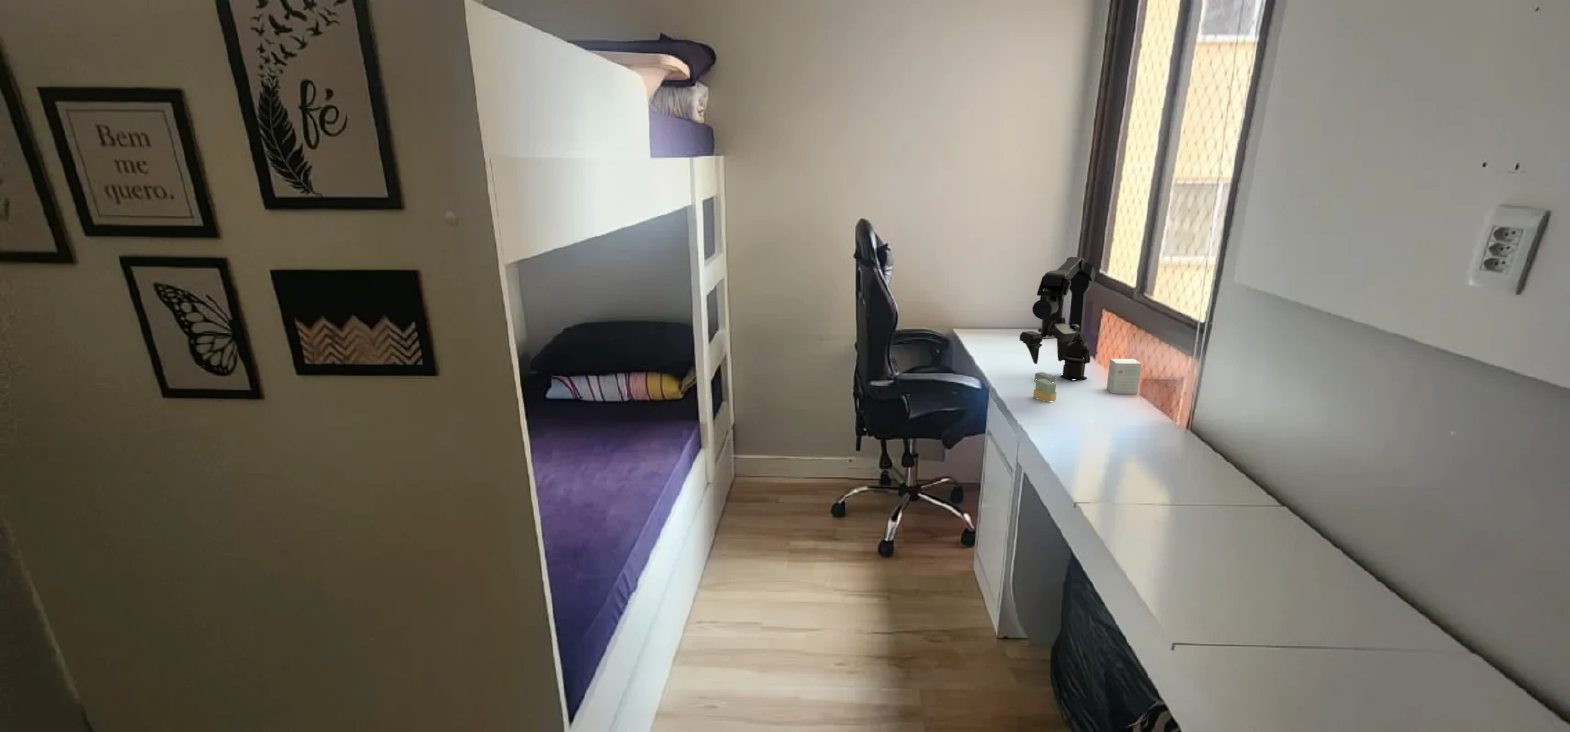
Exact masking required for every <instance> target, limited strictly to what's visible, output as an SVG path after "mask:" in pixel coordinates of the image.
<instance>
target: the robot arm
mask: <svg viewBox="0 0 1570 732" xmlns="http://www.w3.org/2000/svg"><path fill="white" fill-rule="evenodd" d="M1095 278H1096V270H1095V267H1094V266H1093V265H1092V264H1091V263H1089V262H1087V261H1086V259H1085V258H1083V257H1080V256H1070V257H1067V258H1066V261H1065V262H1064V263H1063V264H1062V265H1061V266H1059V268H1057V269H1055V270H1050V271H1047V272H1046V273H1045V274H1044V275H1042V277H1041V279H1040V280H1041V281H1040V283H1039V285H1038V286H1039V287H1038V288H1037V289H1038V290H1037V291H1036V296H1038V297H1039V296H1040V297H1039V300H1037V301H1035V302H1034V304H1033V305H1032V313H1033V315H1034V317H1036V318H1038V319H1039V320H1041V328H1037V329H1038V331H1037V332H1036V331H1033V330H1030V331H1029V330H1028V331H1022V332H1021V333H1020V334H1019V341H1020V342H1022V343H1023V344H1024V345H1026V347H1027V349H1028V352H1029V355H1030V356H1031V359H1032V362H1033V364H1035V365H1038V363H1039V362H1038V361H1039V355H1040V353H1039V352H1040V349H1041V347H1042V346H1043V344H1042V341H1043V340H1052V339H1056V345H1057V347H1056V348H1057V349H1056V350H1057V353H1056V354H1057V360H1058V362H1062V361H1064V364H1063V368H1062V374H1063V376H1064V377H1066V378H1065V379H1067V378H1069V379H1082V380H1086V379H1085V378H1087V379H1088V377H1087V376H1085V372H1086V371H1085V369H1086V364H1090V363H1091V355H1092V354H1091V351H1090V348H1089V345H1088V343H1089V342H1088V338H1087V336H1086V335H1085V333H1084V332H1085V330H1084V329H1085V318H1086V317H1085V316H1086V306H1087V305H1086V304H1087V292H1088V291H1089V290H1090V288H1091V287H1092V286H1093V283H1094V281H1095ZM1069 291H1070V292H1071V299H1070V313H1069V325H1067V324H1066V318H1065V317H1063V315H1064V314H1063V311H1064V304H1065V303H1064V302H1065V297H1066V296H1067V295H1068V293H1069ZM1064 377H1063V378H1064ZM1069 379H1068V380H1069Z"/></svg>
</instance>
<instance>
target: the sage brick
mask: <svg viewBox="0 0 1570 732" xmlns="http://www.w3.org/2000/svg"><path fill="white" fill-rule="evenodd" d="M1056 387H1057V384H1056V383H1055V384H1054V383H1052V382H1050V381H1048V380H1046V379H1037V380H1036V381H1035V389H1038V390H1040V391H1041V392H1043V393H1045V394H1053V393H1055V392H1056Z"/></svg>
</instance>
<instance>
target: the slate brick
mask: <svg viewBox="0 0 1570 732" xmlns="http://www.w3.org/2000/svg"><path fill="white" fill-rule="evenodd" d="M1035 379H1046V380H1048V381H1050V382H1055V383H1056V376H1055V375H1052V374H1049V373H1046V372H1042V371H1039V372H1036V373H1034V380H1035Z"/></svg>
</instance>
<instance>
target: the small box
mask: <svg viewBox="0 0 1570 732" xmlns="http://www.w3.org/2000/svg"><path fill="white" fill-rule="evenodd" d="M1141 369H1142V363H1141V362H1140V361H1138V360H1136V359H1135V358H1110V359H1109V364H1108V373H1107V381H1106V382H1107V384H1106V390H1108V391H1109V392H1110V393H1112V394H1113V395H1115V394H1117V395H1122V394H1123V395H1125V394H1127V395H1128V394H1129V395H1133V394H1134V395H1137V394H1138V392H1139V383H1140V377H1141Z"/></svg>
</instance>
